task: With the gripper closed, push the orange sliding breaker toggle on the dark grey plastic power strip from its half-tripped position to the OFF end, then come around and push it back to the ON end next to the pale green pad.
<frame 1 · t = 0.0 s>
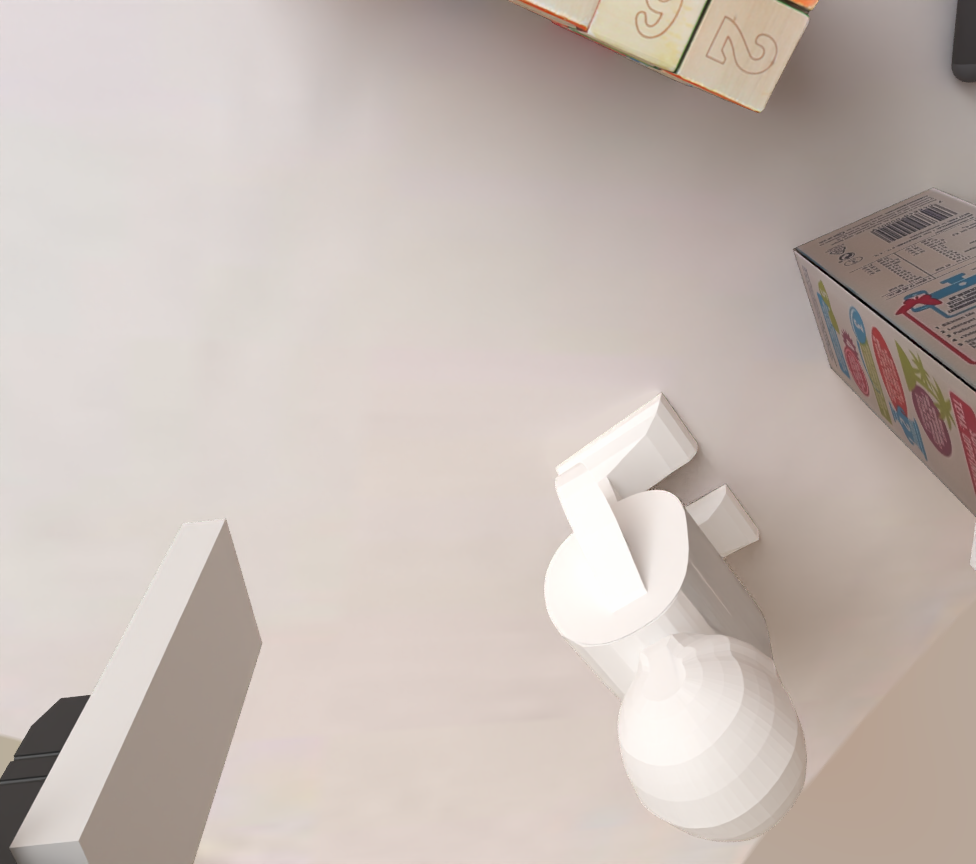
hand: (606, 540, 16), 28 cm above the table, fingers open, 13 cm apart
toy robot: (638, 506, 48), on the table
juice carton: (878, 280, 43), on the table
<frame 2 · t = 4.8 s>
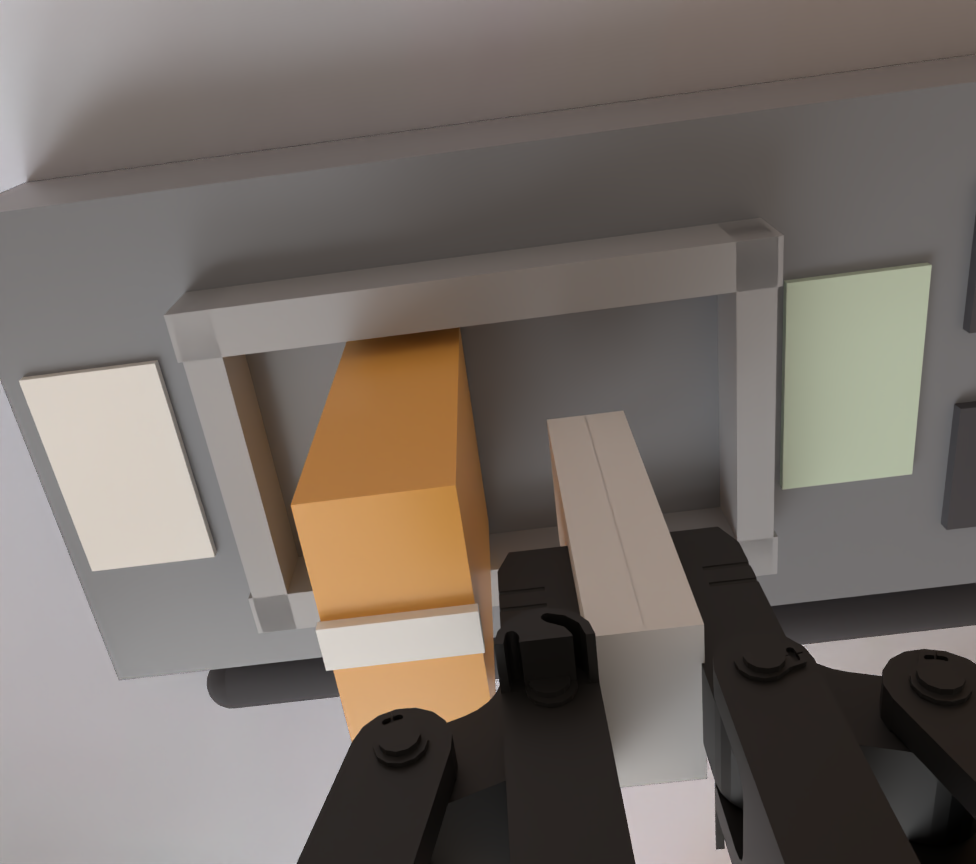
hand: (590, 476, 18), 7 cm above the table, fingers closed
grey ledge with rod: (603, 598, 27), on the table
breaker lever: (413, 518, 17), point 8 cm above the table, slide at 1.9 cm, touching gripper
pdu strip: (582, 347, 24), on the table
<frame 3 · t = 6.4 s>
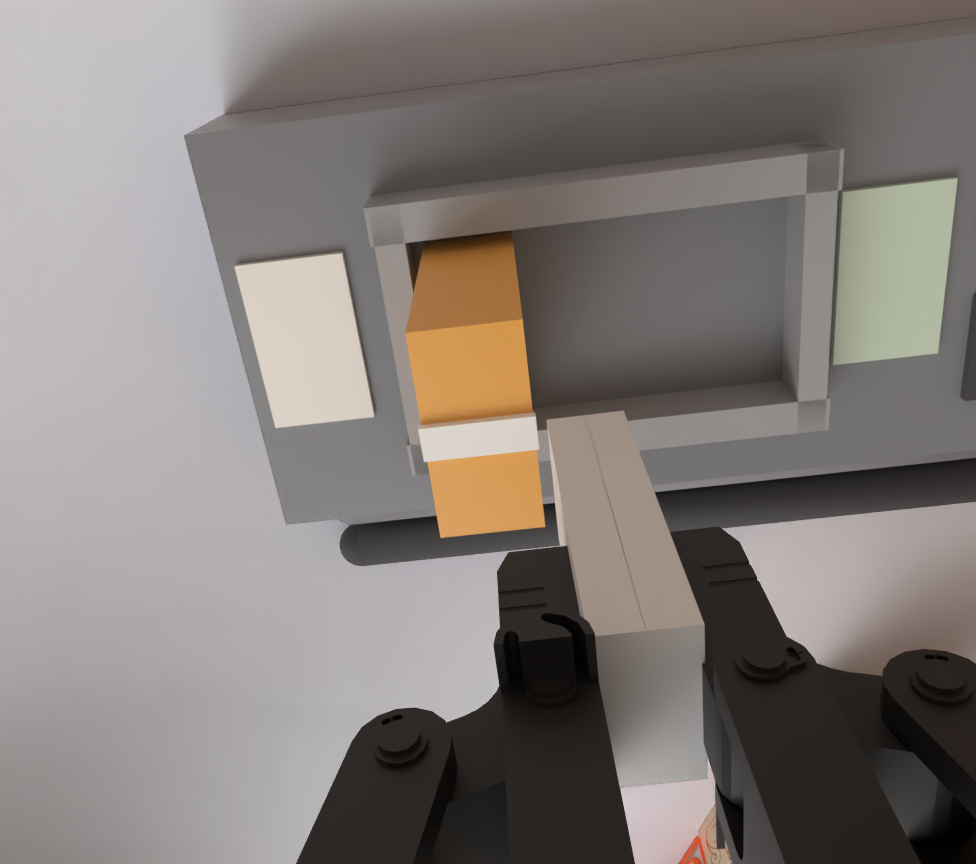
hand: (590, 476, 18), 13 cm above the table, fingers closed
grey ledge with rod: (672, 477, 33), on the table
stack of blocks: (742, 860, 43), on the table
breaker lever: (479, 373, 22), point 8 cm above the table, slide at 0.0 cm
pdu strip: (665, 257, 29), on the table
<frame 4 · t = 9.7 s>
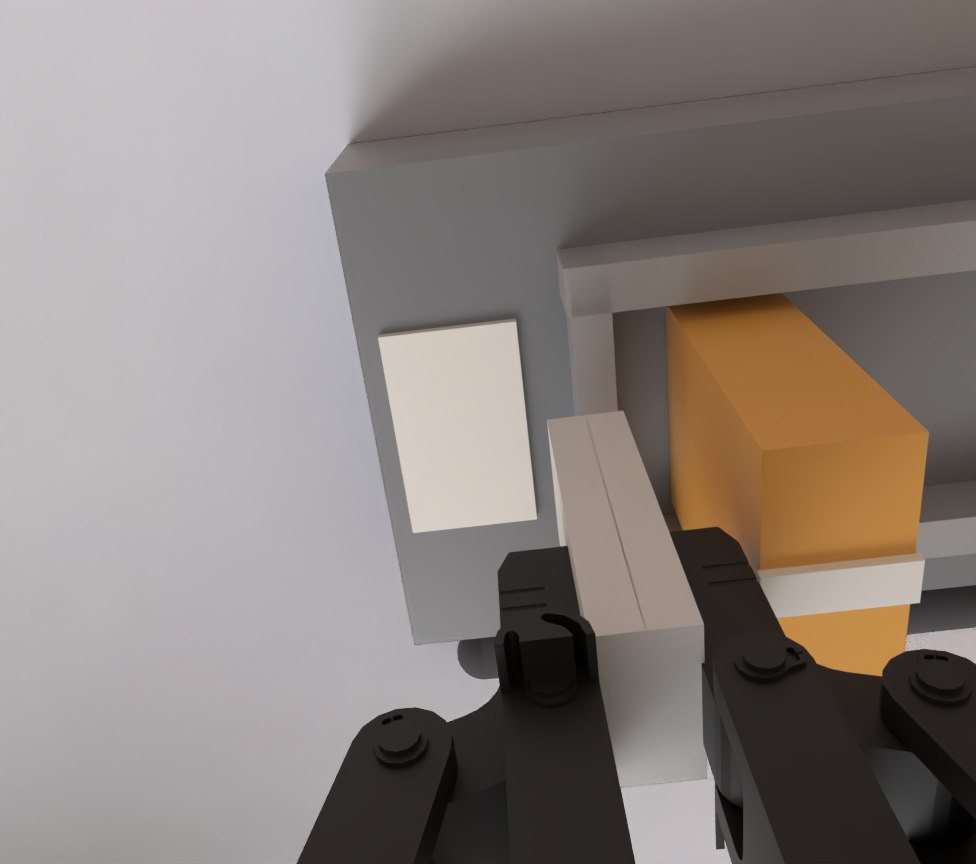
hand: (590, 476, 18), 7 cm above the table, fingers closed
grey ledge with rod: (853, 571, 28), on the table
breaker lever: (770, 478, 17), point 8 cm above the table, slide at 0.9 cm, touching gripper
pdu strip: (872, 317, 24), on the table
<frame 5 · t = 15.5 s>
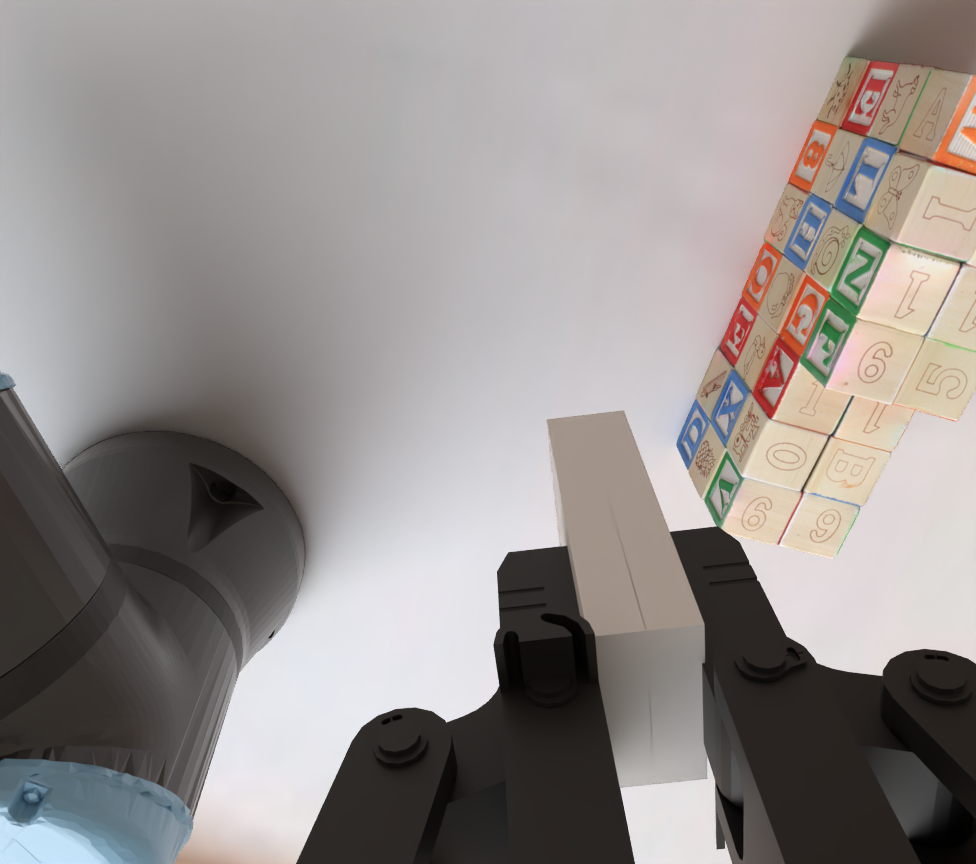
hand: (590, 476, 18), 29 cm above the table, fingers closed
stack of blocks: (803, 281, 47), on the table
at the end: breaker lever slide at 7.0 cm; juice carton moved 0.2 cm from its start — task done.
